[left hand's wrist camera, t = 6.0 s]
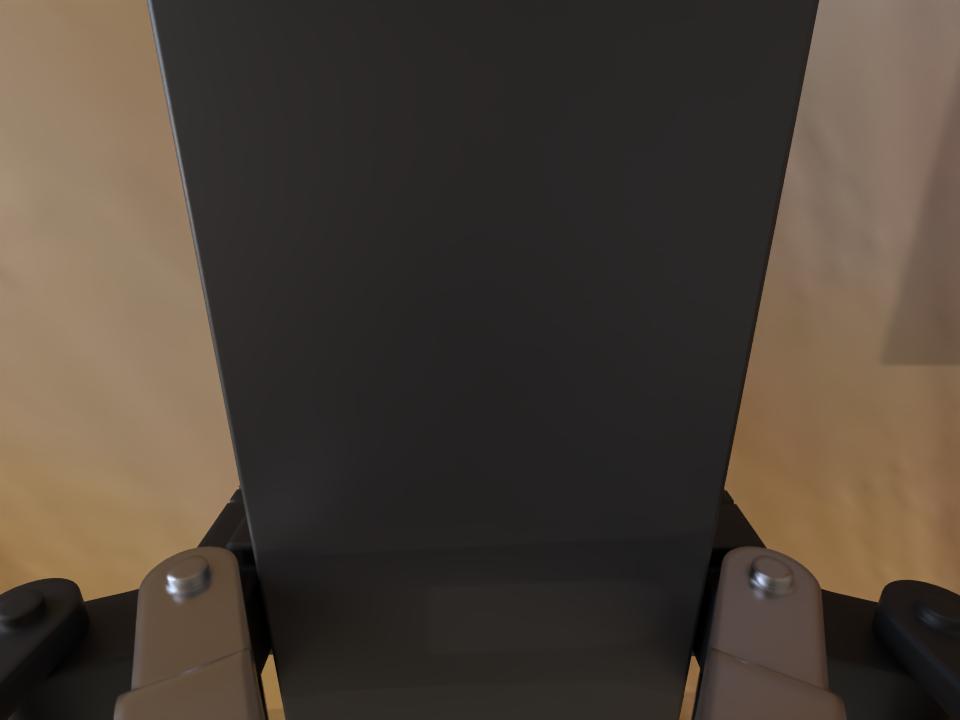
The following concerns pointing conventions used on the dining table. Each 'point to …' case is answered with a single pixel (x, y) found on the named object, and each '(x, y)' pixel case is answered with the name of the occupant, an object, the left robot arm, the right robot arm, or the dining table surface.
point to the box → (482, 328)
